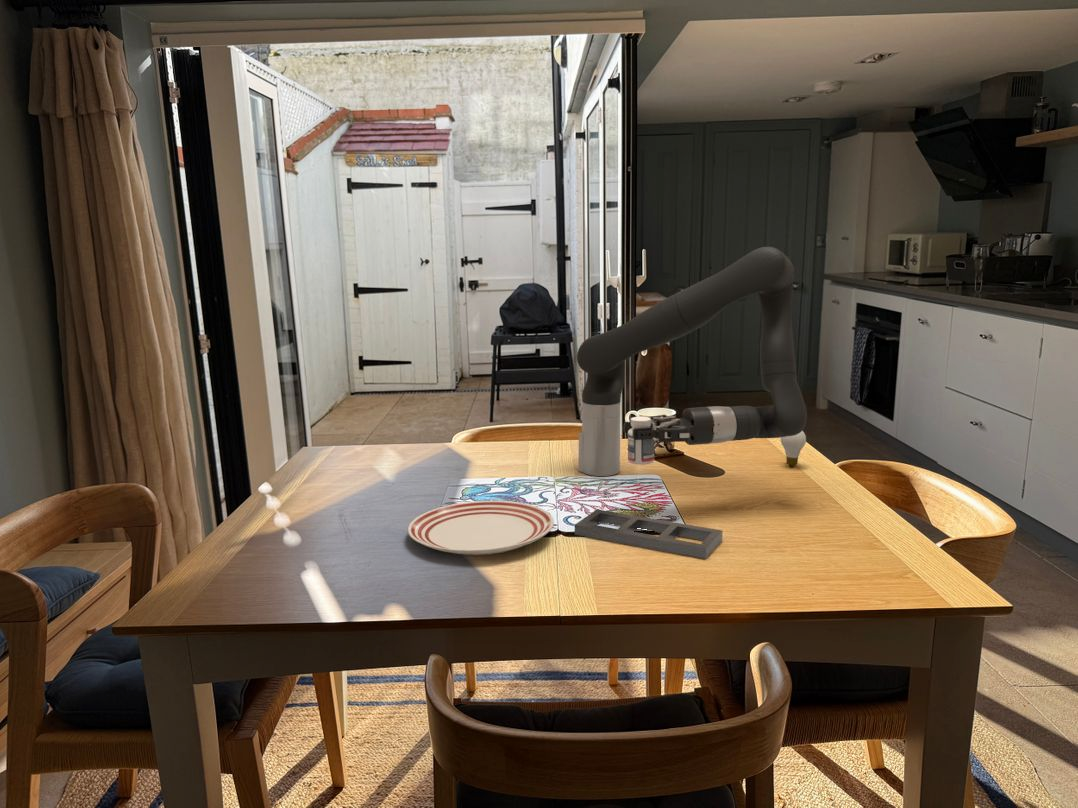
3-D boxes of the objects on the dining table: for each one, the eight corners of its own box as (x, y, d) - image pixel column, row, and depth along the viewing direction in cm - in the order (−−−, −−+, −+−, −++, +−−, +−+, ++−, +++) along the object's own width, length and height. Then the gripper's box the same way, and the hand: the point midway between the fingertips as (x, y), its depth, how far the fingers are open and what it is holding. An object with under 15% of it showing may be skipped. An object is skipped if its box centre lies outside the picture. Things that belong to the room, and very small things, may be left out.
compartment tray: (574, 534, 151) (574, 524, 150) (596, 518, 159) (596, 509, 159) (705, 559, 138) (706, 548, 138) (722, 540, 147) (722, 530, 147)
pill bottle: (656, 459, 161) (656, 416, 159) (651, 466, 156) (651, 422, 154) (630, 457, 163) (630, 415, 161) (625, 464, 158) (625, 420, 156)
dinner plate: (380, 555, 142) (379, 537, 141) (448, 507, 167) (448, 492, 167) (523, 575, 133) (522, 557, 132) (572, 522, 158) (572, 506, 157)
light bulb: (801, 463, 197) (803, 424, 195) (806, 470, 191) (809, 430, 189) (777, 463, 198) (779, 424, 196) (781, 470, 192) (784, 429, 190)
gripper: (694, 400, 167) (617, 405, 164) (724, 414, 153) (640, 420, 150) (694, 435, 168) (617, 440, 165) (723, 452, 155) (640, 458, 151)
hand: (628, 430), depth 157 cm, fingers closed on pill bottle, 5 cm apart
